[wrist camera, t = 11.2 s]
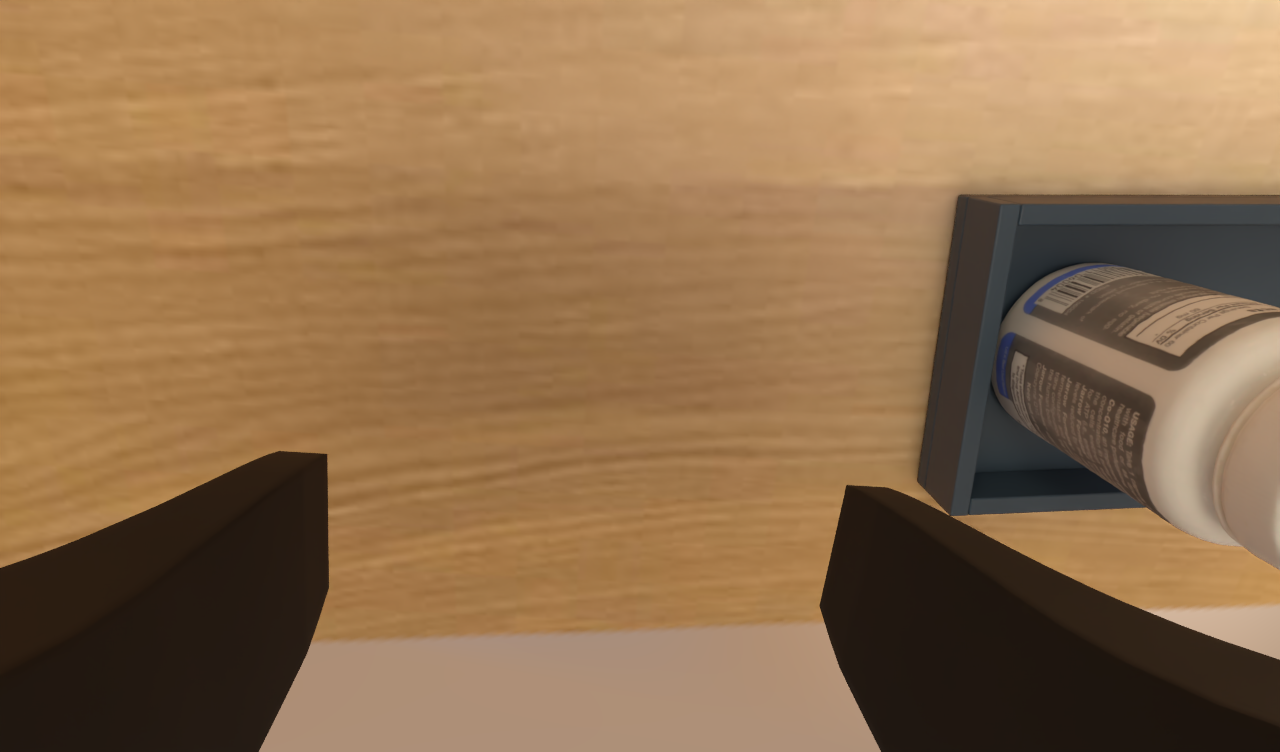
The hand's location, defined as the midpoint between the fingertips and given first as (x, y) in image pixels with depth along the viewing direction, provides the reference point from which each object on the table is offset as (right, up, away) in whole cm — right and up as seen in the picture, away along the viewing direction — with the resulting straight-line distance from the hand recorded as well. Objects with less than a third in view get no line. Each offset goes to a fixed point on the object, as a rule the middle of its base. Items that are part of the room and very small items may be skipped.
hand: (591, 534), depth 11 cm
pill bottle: (+12, +3, +10) cm, 16 cm away
